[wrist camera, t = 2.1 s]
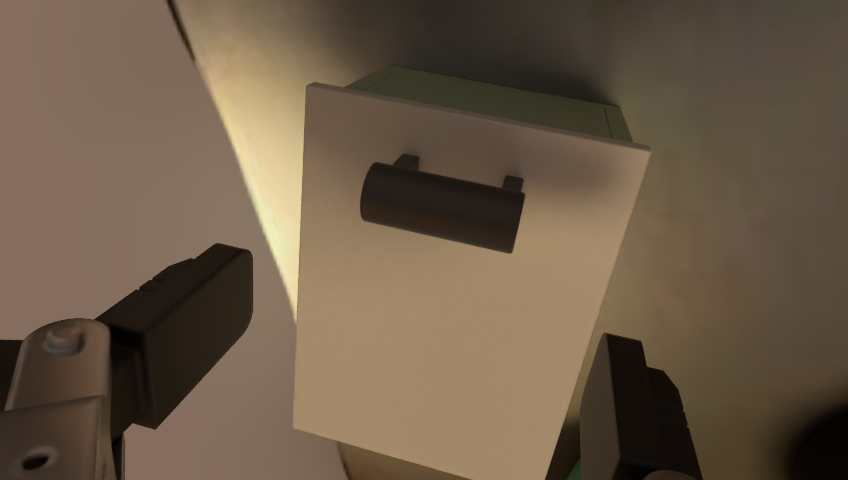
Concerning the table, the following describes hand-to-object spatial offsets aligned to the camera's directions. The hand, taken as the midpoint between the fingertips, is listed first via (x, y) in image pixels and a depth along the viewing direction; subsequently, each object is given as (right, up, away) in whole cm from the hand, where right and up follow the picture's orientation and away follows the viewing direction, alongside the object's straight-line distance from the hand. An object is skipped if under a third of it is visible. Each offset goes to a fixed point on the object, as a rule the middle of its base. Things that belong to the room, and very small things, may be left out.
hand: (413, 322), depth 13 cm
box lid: (+1, -1, +12) cm, 12 cm away
